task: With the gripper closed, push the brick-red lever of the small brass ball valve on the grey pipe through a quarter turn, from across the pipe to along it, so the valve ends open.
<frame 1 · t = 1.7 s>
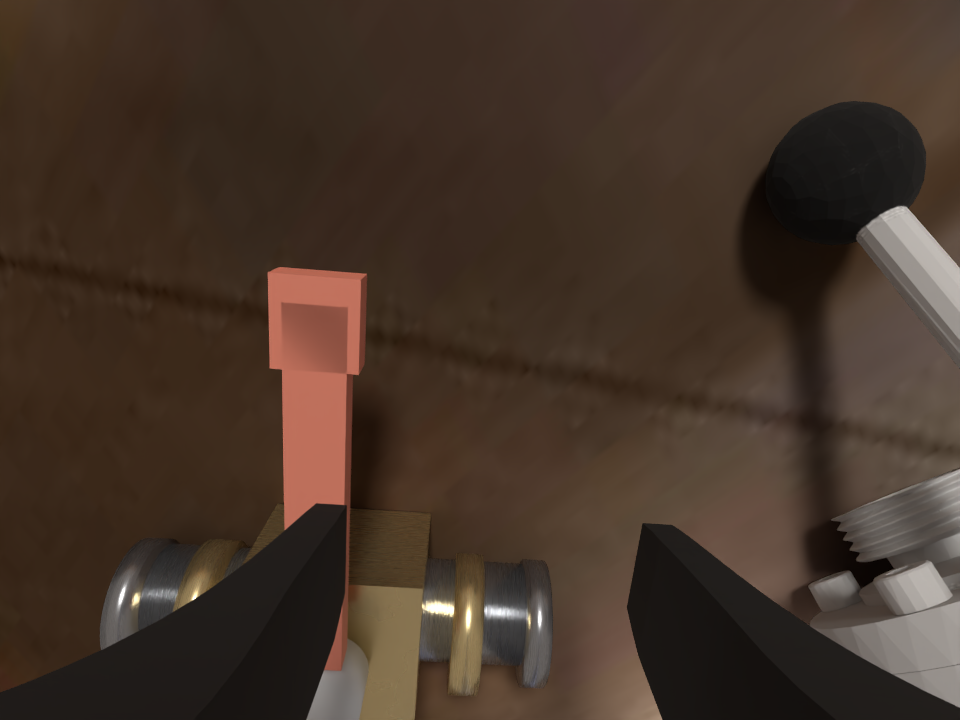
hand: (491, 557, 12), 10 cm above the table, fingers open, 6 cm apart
mechanical valve: (844, 399, 23), on the table
lever: (320, 526, 17), point 6 cm above the table, hinge at 0.0°
valve pipe: (353, 573, 24), on the table
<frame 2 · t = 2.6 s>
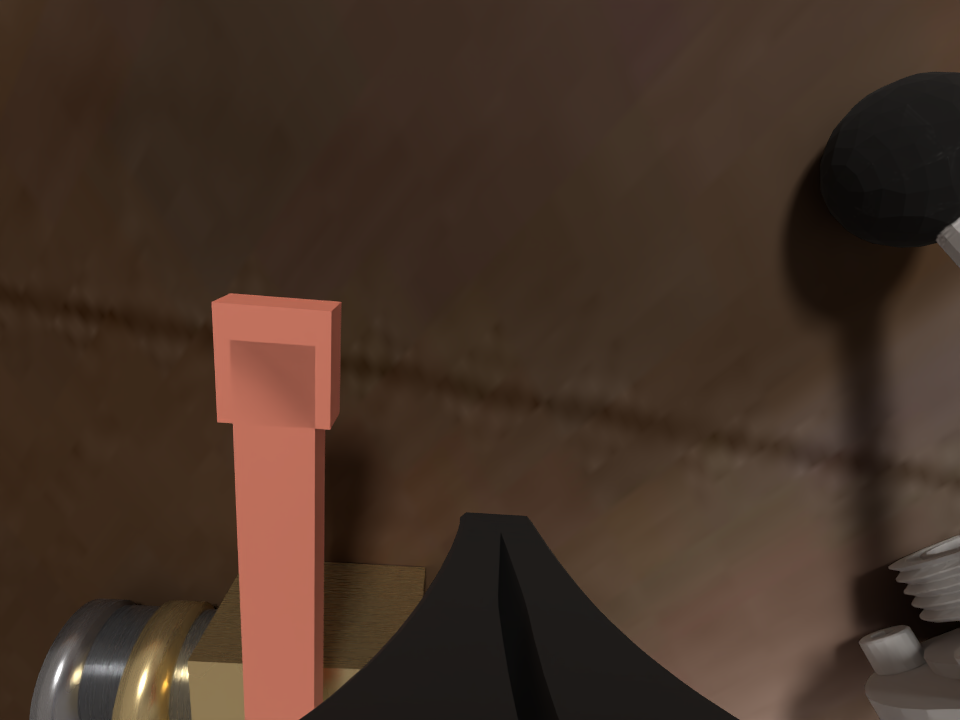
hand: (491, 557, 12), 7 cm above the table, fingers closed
mechanical valve: (902, 427, 19), on the table
lever: (287, 608, 14), point 6 cm above the table, hinge at 0.0°
valve pipe: (336, 635, 21), on the table
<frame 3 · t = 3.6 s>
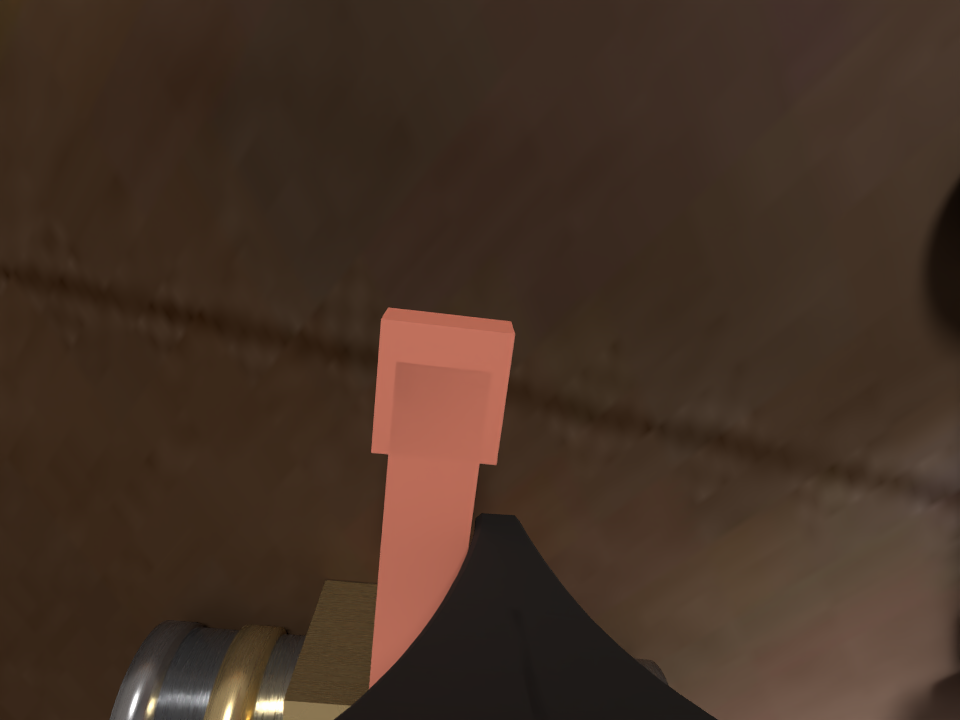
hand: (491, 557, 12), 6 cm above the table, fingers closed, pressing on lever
lever: (413, 653, 12), point 6 cm above the table, hinge at 0.1°, touching gripper
valve pipe: (412, 663, 20), on the table
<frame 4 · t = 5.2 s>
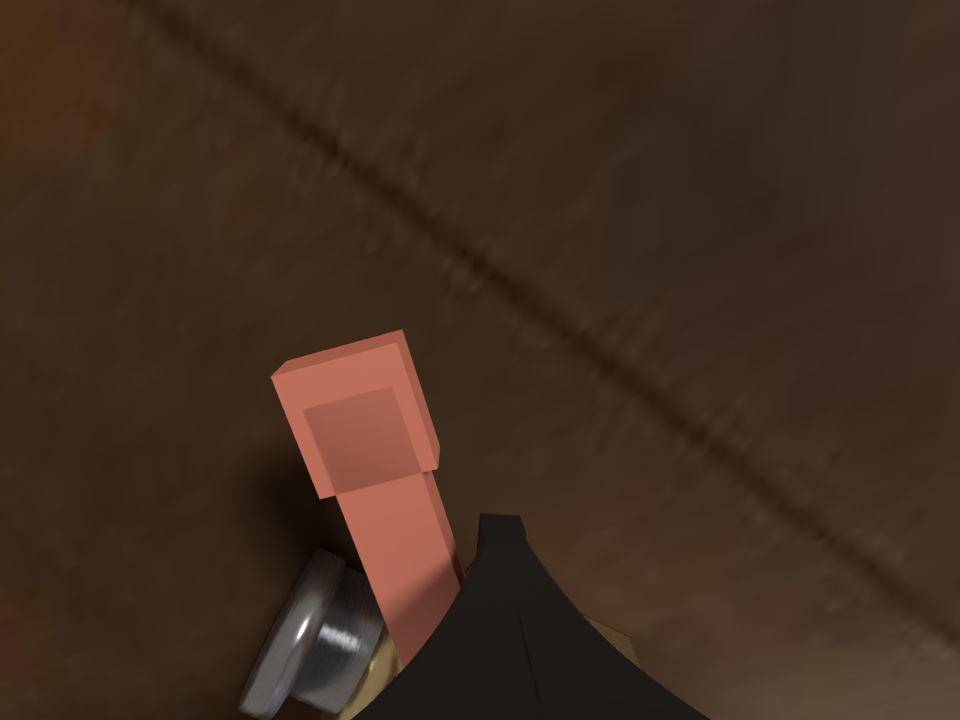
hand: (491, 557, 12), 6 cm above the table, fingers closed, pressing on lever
lever: (454, 665, 13), point 6 cm above the table, hinge at 45.7°, touching gripper
valve pipe: (505, 666, 20), on the table
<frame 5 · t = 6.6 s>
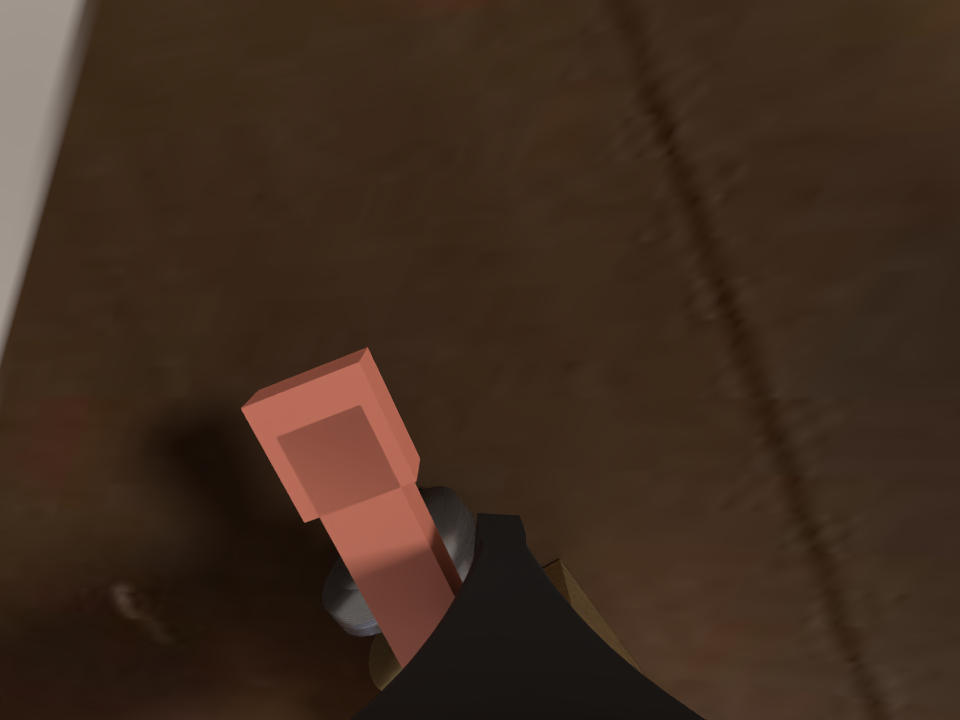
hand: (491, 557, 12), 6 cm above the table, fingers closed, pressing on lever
lever: (462, 672, 13), point 6 cm above the table, hinge at 78.2°, touching gripper
valve pipe: (529, 665, 20), on the table
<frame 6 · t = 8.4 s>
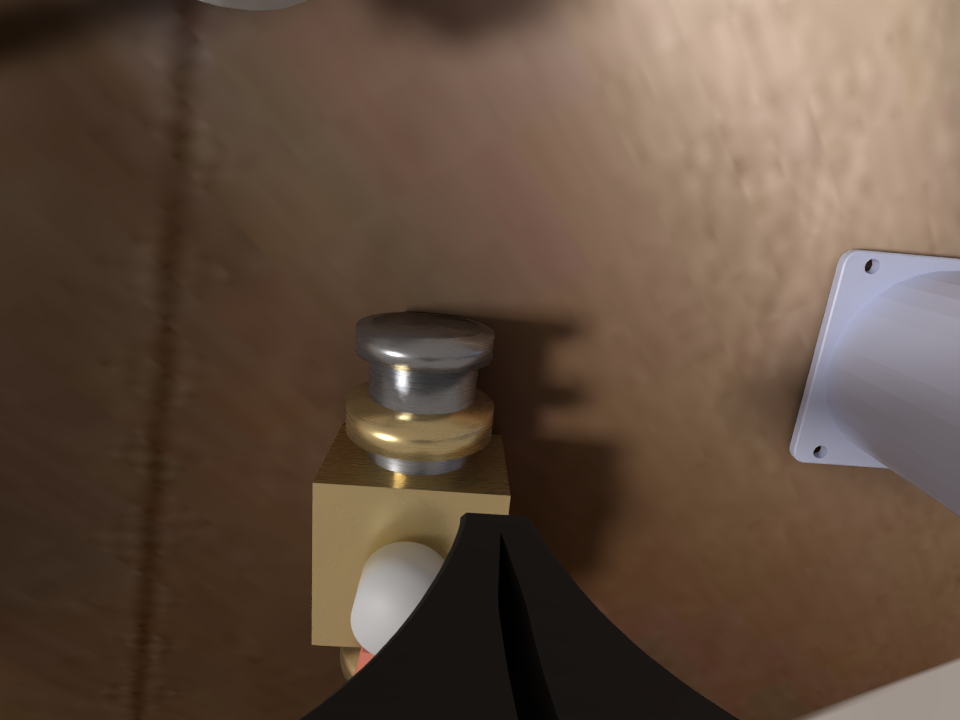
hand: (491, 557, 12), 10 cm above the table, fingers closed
valve pipe: (418, 499, 23), on the table
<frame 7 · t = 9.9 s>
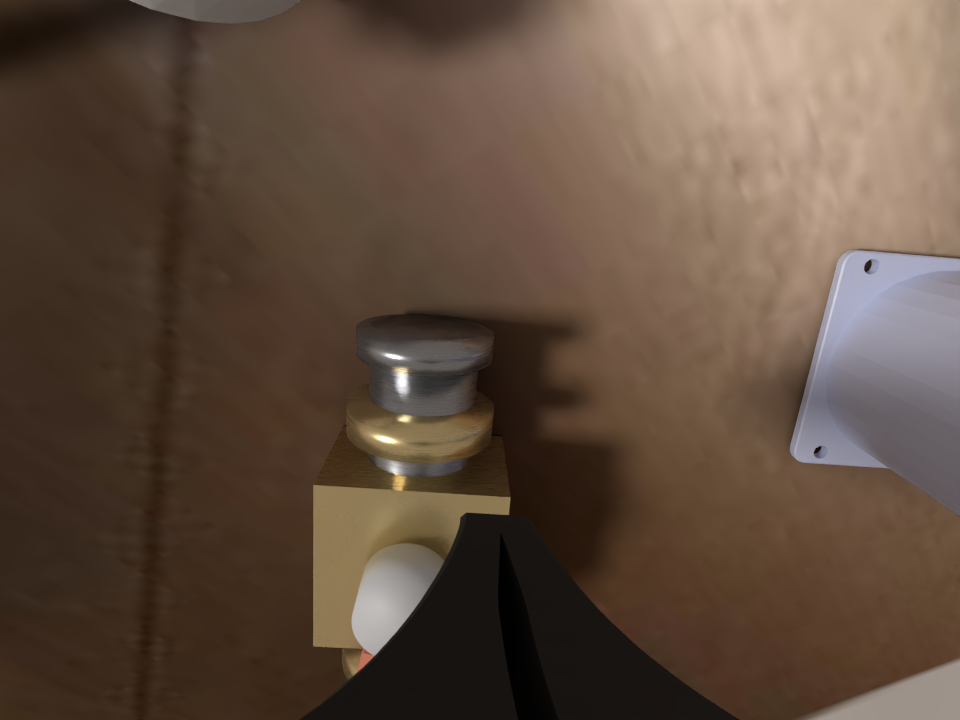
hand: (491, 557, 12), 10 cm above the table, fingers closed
valve pipe: (419, 501, 23), on the table
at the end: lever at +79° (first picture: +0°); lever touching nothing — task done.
